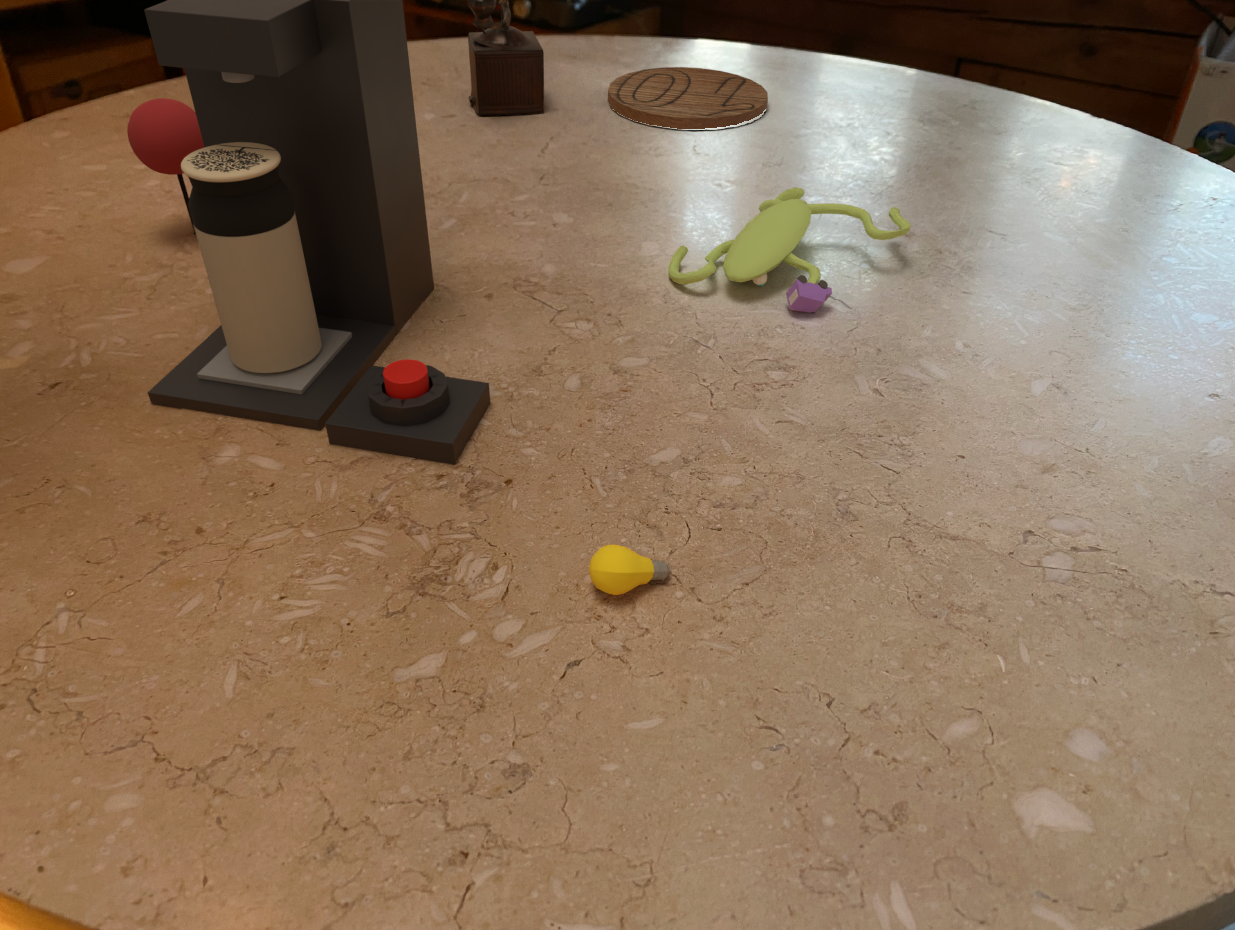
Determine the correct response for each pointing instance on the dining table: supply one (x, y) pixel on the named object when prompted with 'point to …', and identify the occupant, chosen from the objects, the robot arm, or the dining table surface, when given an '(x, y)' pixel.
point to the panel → (410, 417)
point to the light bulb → (623, 569)
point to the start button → (406, 379)
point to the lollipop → (165, 137)
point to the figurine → (780, 247)
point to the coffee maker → (311, 181)
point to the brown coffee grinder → (504, 64)
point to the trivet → (687, 97)
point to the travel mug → (253, 256)
